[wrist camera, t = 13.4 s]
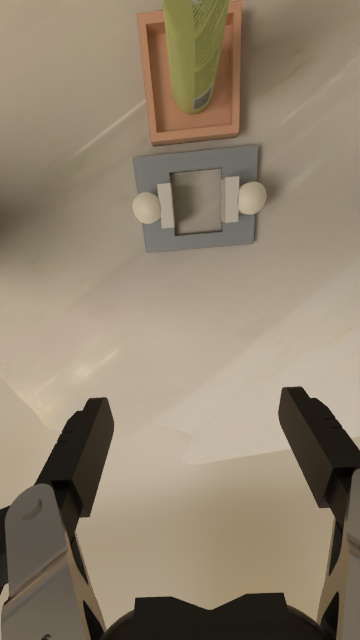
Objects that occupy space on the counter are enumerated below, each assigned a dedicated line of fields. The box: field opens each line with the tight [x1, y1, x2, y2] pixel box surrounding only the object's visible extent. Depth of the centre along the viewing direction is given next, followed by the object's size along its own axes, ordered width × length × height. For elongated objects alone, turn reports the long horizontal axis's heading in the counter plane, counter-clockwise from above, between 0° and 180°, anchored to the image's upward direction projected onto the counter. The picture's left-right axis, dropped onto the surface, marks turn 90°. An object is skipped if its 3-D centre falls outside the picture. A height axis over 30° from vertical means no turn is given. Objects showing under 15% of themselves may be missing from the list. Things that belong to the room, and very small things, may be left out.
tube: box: [162, 0, 229, 114], centre depth 19 cm, size 6×5×20 cm
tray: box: [137, 0, 242, 146], centre depth 27 cm, size 11×11×2 cm
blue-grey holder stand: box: [133, 145, 267, 253], centre depth 31 cm, size 17×12×5 cm
